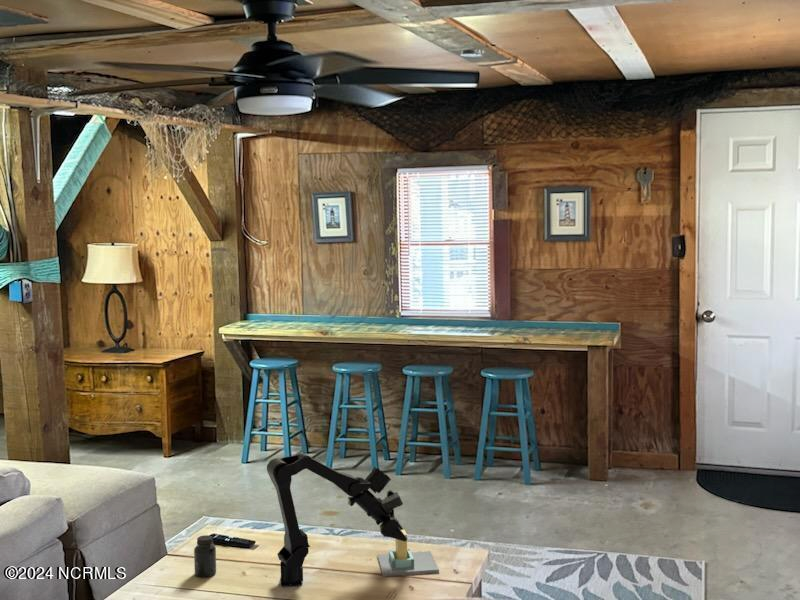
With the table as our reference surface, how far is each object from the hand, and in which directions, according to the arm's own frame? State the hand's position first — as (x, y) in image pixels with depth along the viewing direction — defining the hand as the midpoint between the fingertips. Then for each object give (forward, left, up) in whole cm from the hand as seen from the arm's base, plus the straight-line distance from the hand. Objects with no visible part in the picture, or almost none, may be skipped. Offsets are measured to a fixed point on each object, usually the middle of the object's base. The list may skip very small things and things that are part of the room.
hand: (404, 535), depth 292 cm
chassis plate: (+1, 0, -10) cm, 10 cm away
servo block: (-1, 0, -9) cm, 9 cm away
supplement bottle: (-64, +3, -10) cm, 65 cm away
